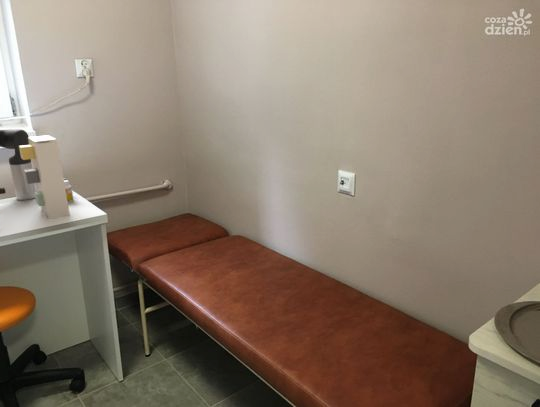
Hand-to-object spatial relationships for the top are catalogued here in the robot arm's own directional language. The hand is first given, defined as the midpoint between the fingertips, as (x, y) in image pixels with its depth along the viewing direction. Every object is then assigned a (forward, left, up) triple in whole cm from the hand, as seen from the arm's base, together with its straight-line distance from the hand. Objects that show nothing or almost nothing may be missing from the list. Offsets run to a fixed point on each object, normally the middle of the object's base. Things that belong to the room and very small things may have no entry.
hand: (5, 190), depth 177 cm
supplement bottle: (-15, +25, -13) cm, 32 cm away
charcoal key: (0, +11, +2) cm, 12 cm away
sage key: (0, +14, -8) cm, 16 cm away
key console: (0, +17, -13) cm, 21 cm away
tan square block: (0, +11, +12) cm, 16 cm away
